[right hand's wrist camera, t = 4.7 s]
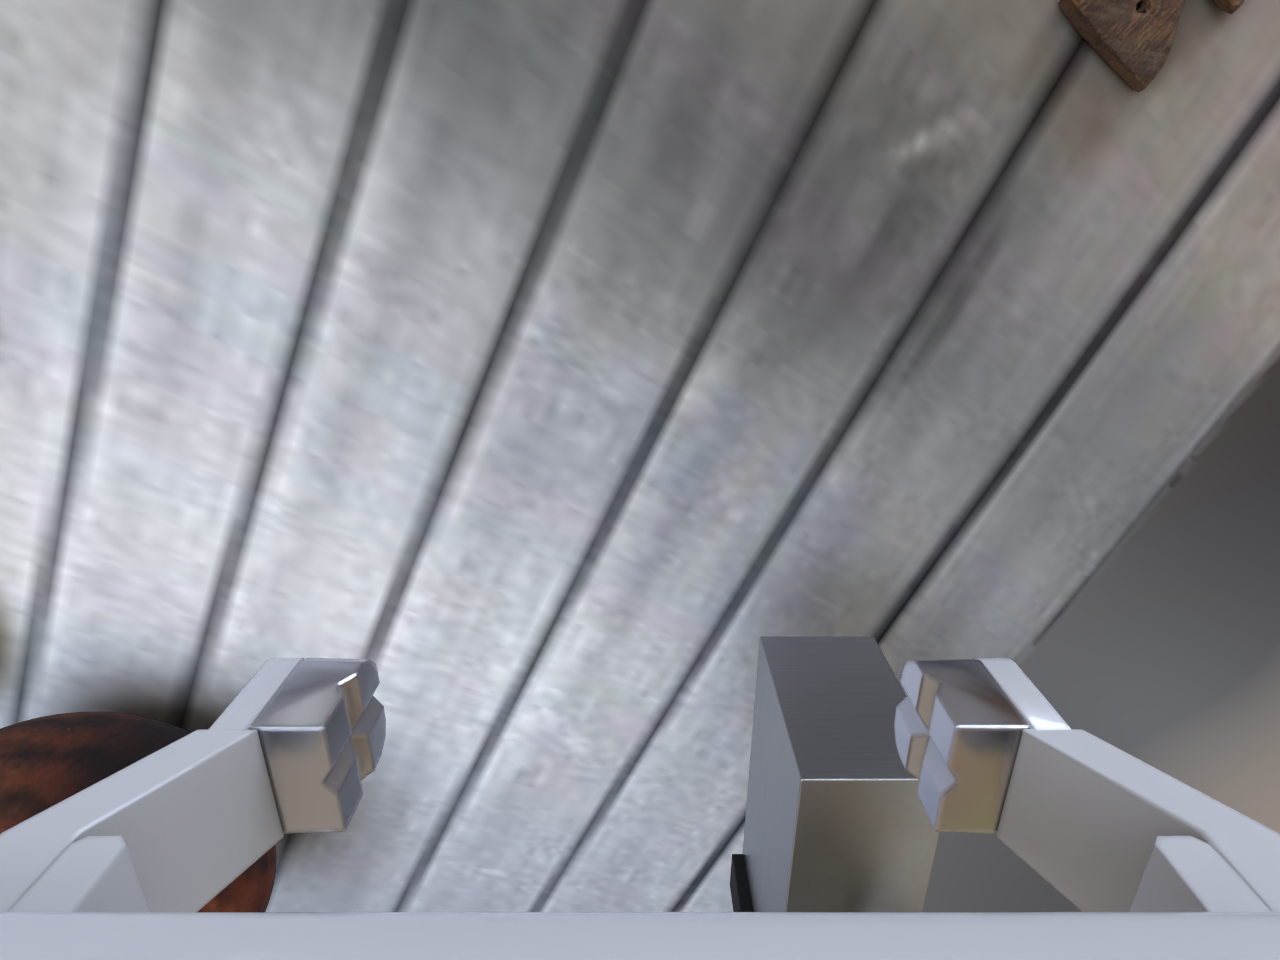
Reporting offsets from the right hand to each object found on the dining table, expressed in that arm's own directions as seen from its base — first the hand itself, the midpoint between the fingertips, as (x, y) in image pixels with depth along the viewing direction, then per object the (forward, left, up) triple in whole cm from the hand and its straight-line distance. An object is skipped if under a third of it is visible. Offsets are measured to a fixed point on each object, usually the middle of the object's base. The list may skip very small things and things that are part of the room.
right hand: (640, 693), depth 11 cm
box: (+25, +10, -23) cm, 36 cm away
